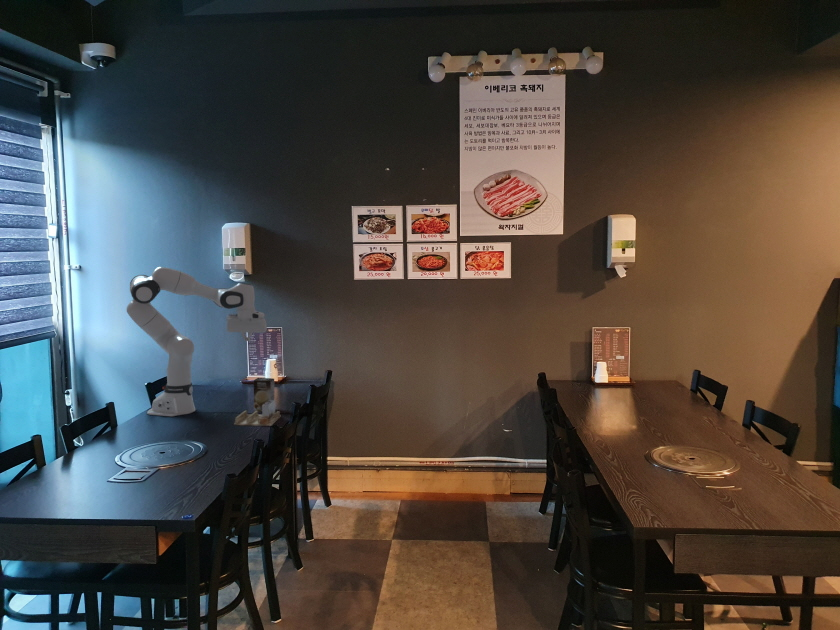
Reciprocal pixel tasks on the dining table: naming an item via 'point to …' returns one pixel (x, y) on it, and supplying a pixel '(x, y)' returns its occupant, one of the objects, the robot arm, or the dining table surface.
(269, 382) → the coffee box
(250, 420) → the rack
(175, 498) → the dining table surface
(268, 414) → the panel
